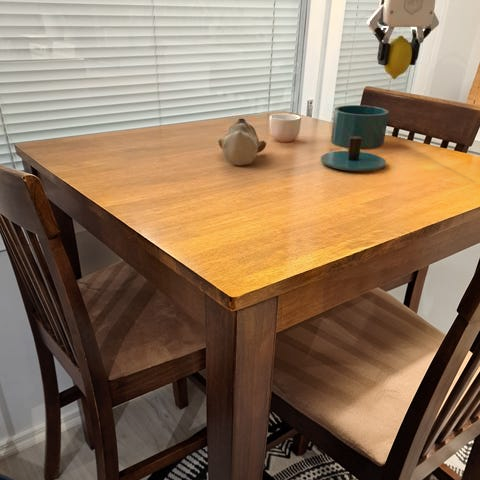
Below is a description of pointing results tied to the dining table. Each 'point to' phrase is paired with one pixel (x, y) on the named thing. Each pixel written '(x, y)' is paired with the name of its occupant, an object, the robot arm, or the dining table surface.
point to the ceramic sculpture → (241, 143)
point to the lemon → (398, 57)
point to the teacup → (284, 126)
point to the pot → (359, 125)
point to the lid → (353, 158)
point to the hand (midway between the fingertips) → (396, 63)
